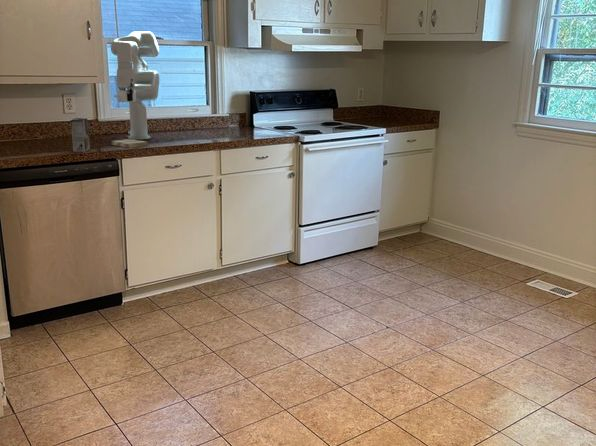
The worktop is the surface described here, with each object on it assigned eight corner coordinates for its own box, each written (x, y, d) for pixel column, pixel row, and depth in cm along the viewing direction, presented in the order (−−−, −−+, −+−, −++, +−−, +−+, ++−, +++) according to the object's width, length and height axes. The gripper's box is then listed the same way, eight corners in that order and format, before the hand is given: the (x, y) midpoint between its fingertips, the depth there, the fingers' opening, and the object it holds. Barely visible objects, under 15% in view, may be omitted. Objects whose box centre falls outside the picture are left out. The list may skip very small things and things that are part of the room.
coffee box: (77, 148, 317) (75, 117, 312) (90, 149, 317) (87, 118, 313) (72, 151, 308) (70, 119, 304) (85, 151, 308) (83, 120, 304)
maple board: (111, 144, 332) (111, 141, 332) (129, 142, 341) (129, 138, 341) (129, 147, 323) (129, 144, 322) (147, 145, 332) (147, 141, 332)
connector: (113, 101, 321) (112, 90, 320) (132, 100, 331) (131, 89, 329) (118, 102, 319) (117, 90, 317) (137, 101, 328) (137, 89, 327)
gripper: (109, 65, 323) (111, 100, 328) (129, 66, 313) (131, 102, 318) (121, 65, 328) (123, 99, 333) (140, 66, 318) (142, 101, 324)
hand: (127, 100), depth 326 cm, fingers closed on connector, 4 cm apart
